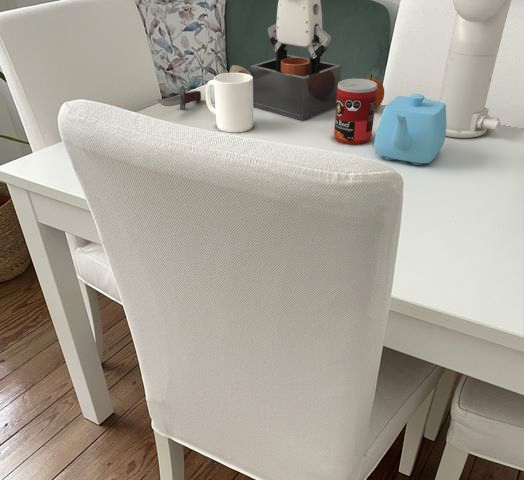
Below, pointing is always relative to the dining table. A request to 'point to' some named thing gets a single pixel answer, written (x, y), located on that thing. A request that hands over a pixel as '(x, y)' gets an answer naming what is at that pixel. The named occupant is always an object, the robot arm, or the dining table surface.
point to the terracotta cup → (295, 66)
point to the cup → (232, 101)
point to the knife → (181, 98)
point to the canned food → (355, 111)
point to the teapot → (411, 129)
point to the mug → (238, 69)
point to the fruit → (378, 91)
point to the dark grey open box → (295, 90)
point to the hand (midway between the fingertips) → (297, 72)
